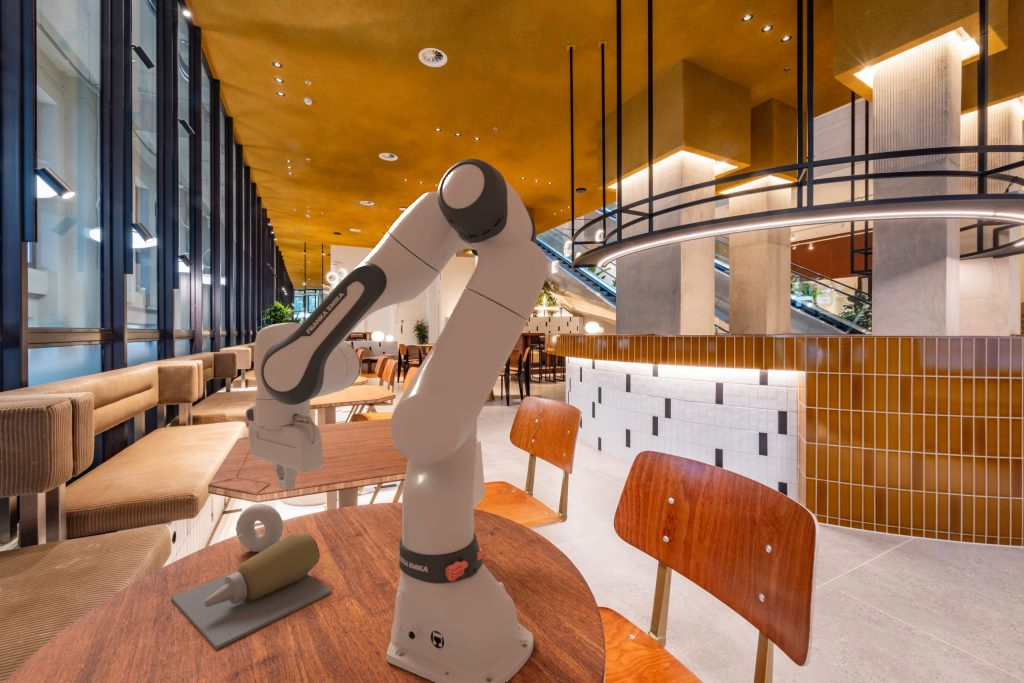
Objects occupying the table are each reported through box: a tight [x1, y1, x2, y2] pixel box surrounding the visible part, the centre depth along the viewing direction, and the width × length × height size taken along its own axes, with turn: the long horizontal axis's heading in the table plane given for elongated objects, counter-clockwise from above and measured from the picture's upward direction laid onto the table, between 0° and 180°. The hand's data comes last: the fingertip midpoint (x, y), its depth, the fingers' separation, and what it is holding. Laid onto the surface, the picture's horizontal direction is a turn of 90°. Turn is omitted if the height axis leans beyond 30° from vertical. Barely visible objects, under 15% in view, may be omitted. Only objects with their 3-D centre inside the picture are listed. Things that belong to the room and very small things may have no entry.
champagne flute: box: [474, 437, 486, 551], centre depth 92 cm, size 7×7×24 cm
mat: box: [170, 571, 333, 650], centre depth 77 cm, size 20×18×1 cm
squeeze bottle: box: [204, 533, 321, 607], centre depth 77 cm, size 8×8×18 cm
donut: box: [235, 503, 284, 553], centre depth 93 cm, size 10×4×10 cm, turn 83°
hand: (286, 487), depth 80 cm, fingers closed
